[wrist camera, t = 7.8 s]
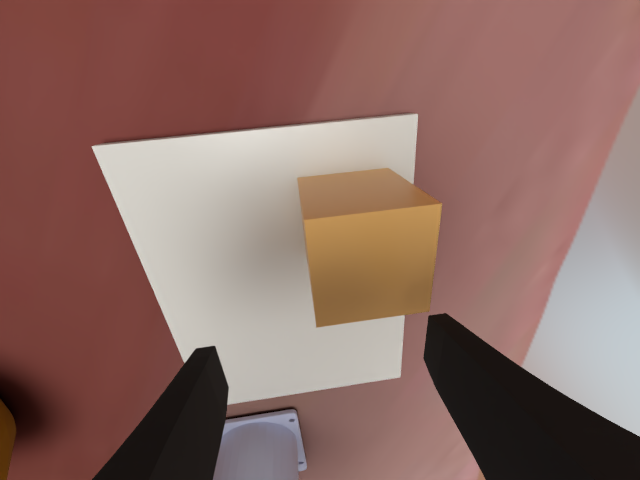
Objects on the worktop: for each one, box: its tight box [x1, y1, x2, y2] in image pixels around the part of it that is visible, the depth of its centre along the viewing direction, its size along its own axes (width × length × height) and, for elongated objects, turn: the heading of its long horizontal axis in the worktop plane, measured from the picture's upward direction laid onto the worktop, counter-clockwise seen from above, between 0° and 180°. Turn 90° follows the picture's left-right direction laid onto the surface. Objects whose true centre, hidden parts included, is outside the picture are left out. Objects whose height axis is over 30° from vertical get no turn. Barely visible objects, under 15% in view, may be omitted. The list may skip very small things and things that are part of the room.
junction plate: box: [92, 113, 418, 405], centre depth 17 cm, size 20×16×4 cm
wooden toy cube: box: [297, 168, 442, 328], centre depth 14 cm, size 5×5×6 cm
